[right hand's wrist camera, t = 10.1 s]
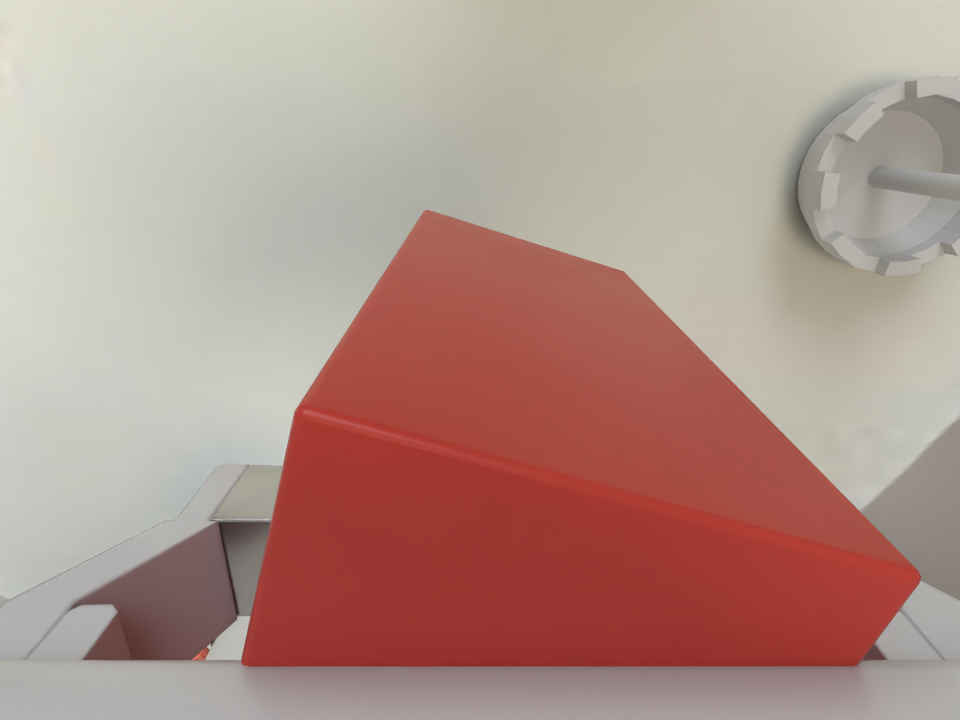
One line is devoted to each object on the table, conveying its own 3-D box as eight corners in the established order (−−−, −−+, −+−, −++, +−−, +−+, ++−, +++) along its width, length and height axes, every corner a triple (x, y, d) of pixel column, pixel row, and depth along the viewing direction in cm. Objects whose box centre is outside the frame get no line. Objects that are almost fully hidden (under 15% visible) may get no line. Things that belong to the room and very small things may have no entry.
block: (626, 272, 15) (932, 577, 5) (532, 499, 17) (606, 1009, 7) (424, 208, 14) (291, 406, 4) (358, 453, 17) (178, 940, 7)
